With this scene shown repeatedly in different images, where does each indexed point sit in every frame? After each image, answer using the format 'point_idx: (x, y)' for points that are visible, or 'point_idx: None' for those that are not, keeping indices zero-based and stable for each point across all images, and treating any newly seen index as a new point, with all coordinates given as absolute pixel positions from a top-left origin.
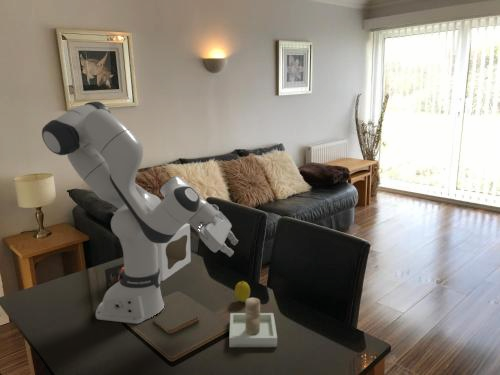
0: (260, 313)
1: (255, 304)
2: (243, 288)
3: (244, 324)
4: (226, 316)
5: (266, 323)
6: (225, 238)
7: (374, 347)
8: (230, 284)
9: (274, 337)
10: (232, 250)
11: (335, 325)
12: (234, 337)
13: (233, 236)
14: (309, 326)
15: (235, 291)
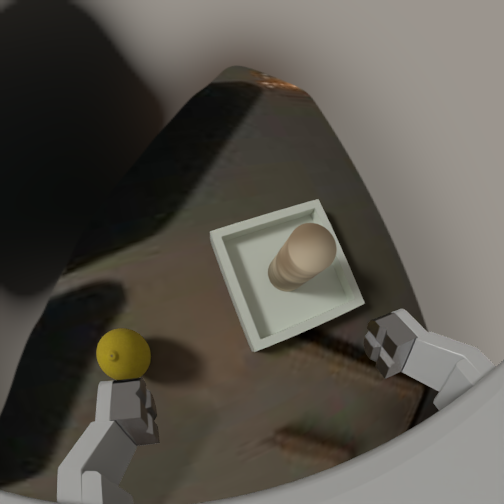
0: (224, 265)
1: (329, 232)
2: (136, 346)
3: (266, 302)
4: (229, 371)
5: (240, 248)
6: (458, 405)
7: (239, 73)
8: (54, 411)
9: (319, 205)
10: (392, 325)
11: (186, 119)
12: (358, 292)
13: (105, 437)
14: (205, 160)
15: (140, 375)
